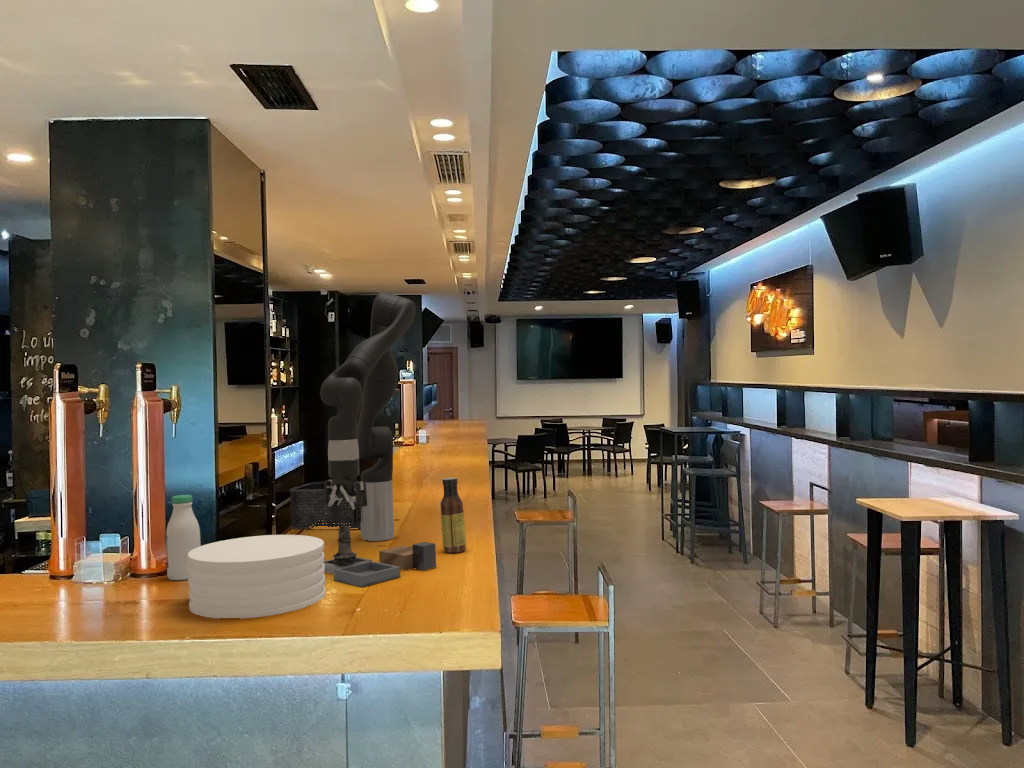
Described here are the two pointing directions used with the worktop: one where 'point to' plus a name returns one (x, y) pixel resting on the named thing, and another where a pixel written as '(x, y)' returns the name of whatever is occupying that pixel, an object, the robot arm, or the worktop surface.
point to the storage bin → (316, 508)
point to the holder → (331, 566)
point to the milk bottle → (181, 537)
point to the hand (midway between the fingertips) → (345, 522)
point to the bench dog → (424, 555)
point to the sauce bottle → (452, 518)
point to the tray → (366, 573)
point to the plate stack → (256, 576)
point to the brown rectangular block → (398, 557)
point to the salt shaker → (344, 547)
